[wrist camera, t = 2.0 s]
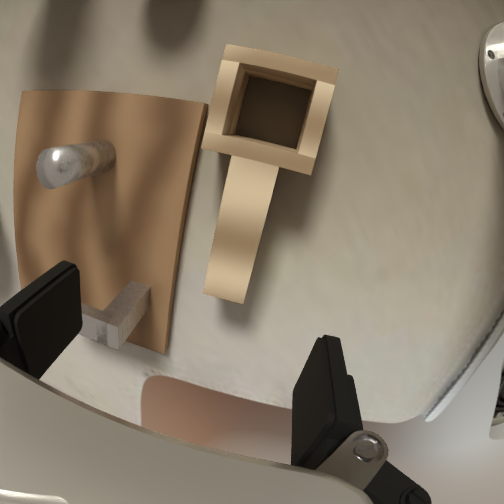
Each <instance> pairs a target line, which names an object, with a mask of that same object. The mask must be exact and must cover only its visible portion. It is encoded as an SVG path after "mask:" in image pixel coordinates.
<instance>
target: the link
mask: <svg viewBox="0 0 504 504" xmlns="http://www.w3.org/2000/svg"><path fill="white" fill-rule="evenodd" d="M338 71H339V69H336V68H332V67H329V66H325V65H322V64H318V63H315V62H311V61H307V60H303V59H300V58H295V57H291V56H287V55H283V54H278V53H274V52H269V51H264V50H259V49H253V48H247V47H242V46H235V45H229V44H226V47H225V51H224V54H223V58H222V62H221V66H220V70H219V73H218V77H217V81H216V85H215V89H214V93H213V98H212V102H211V106H210V110H209V115H208V119H207V123H206V128H205V132H204V137H203V141H202V146H201V149H206V150H211V151H215V152H220V153H224V154H229V155H232V156H231V161H230V165H229V169H228V174H227V178H226V183H225V187H224V192H223V197H222V201H221V206H220V211H219V215H218V220H217V225H216V230H215V235H214V240H213V245H212V250H211V255H210V260H209V265H208V270H207V275H206V280H205V286H204V291H203V293H204V294H207V295H211V296H214V297H218V298H222V299H225V300H229V301H233V302H236V303H240V304H243V303H244V299H245V295H246V291H247V288H248V284H249V280H250V276H251V273H252V269H253V265H254V261H255V257H256V254H257V250H258V246H259V242H260V238H261V235H262V231H263V227H264V223H265V219H266V216H267V212H268V208H269V204H270V200H271V197H272V193H273V189H274V185H275V181H276V177H277V174H278V170H279V167H282V168H286V169H289V170H293V171H297V172H300V173H304V174H307V175H311V173H312V170H313V166H314V162H315V159H316V155H317V152H318V148H319V144H320V141H321V137H322V133H323V129H324V126H325V122H326V118H327V114H328V110H329V107H330V103H331V99H332V95H333V91H334V87H335V83H336V79H337V75H338ZM249 76H252V77H257V78H262V79H267V80H271V81H276V82H280V83H284V84H288V85H292V86H296V87H300V88H304V89H308V90H311V94H310V98H309V102H308V106H307V110H306V113H305V117H304V121H303V125H302V129H301V133H300V136H299V140H298V144H297V148H296V149H294V148H290V147H286V146H282V145H278V144H275V143H271V142H267V141H262V140H258V139H254V138H250V137H245V136H241V135H237V134H235V132H236V128H237V123H238V119H239V115H240V111H241V107H242V103H243V99H244V95H245V91H246V87H247V83H248V79H249Z"/></svg>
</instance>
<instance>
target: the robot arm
mask: <svg viewBox="0 0 504 504" xmlns="http://www.w3.org/2000/svg"><path fill="white" fill-rule="evenodd" d="M479 68H480V75H481V81H482V84H483V88H484V92H485V95H486V98H487V100H488V103H489V106H490V108H491V110H492V112H493V114H494V116H495V118H496V119H497V121H498V122H499V124H500V125H501V127H502V128H503V130H504V23H500V24H498V25H495V26H493V27H492V28H490V29H489V30H488V31H487V33H486V34H485V35H484V37H483V40H482V43H481V46H480V53H479ZM82 325H83V320H82V307H81V290H80V271H79V269H77V266H76V264H74V263H71V262H68V261H65V260H63V261H61V262H59V263H58V264H56V265H55V266H54V267H52V268H51V269H49V270H48V271H47V272H45V273H44V274H42V275H41V276H40V277H38V278H37V279H36V280H34V281H33V282H32V283H30V284H29V285H28V286H26V287H25V288H24V289H22V290H21V291H20V292H18V293H17V294H16V295H14V296H13V297H12V298H11V299H9V300H8V301H7V302H6V303H4V304H3V305H2V306H1V307H0V504H431V499H430V496H429V494H428V493H427V492H426V491H425V490H424V489H423V488H422V487H421V486H419V485H418V484H416V483H415V482H414V481H413V480H411V479H410V478H409V477H407V476H406V475H405V474H403V473H402V472H401V471H399V470H398V469H397V468H396V467H394V466H393V465H392V464H390V463H389V462H388V461H387V460H386V459H387V457H388V447H387V444H386V443H385V441H384V440H383V439H382V438H381V437H380V436H379V435H377V434H376V433H374V432H371V431H367V430H363V425H362V420H361V414H360V409H359V404H358V399H357V394H356V389H355V384H354V379H353V377H352V376H351V375H347V371H346V366H345V361H344V356H343V351H342V346H341V341H340V338H338V337H334V336H329V335H324V336H323V337H322V338H319V337H318V338H317V340H316V342H315V344H314V346H313V349H312V351H311V353H310V355H309V357H308V360H307V362H306V364H305V366H304V368H303V370H302V372H301V374H300V377H299V379H298V381H297V383H296V385H295V387H294V390H293V400H292V449H291V465H288V464H282V463H278V462H272V461H266V460H261V459H256V458H251V457H247V456H242V455H238V454H233V453H229V452H225V451H221V450H216V449H213V448H209V447H205V446H201V445H197V444H194V443H190V442H187V441H183V440H180V439H177V438H173V437H171V436H167V435H164V434H161V433H158V432H155V431H152V430H150V429H146V428H144V427H141V426H138V425H136V424H133V423H130V422H128V421H125V420H123V419H120V418H118V417H115V416H113V415H110V414H108V413H106V412H103V411H101V410H99V409H96V408H94V407H92V406H90V405H87V404H85V403H83V402H81V401H79V400H77V399H75V398H73V397H71V396H69V395H66V394H64V393H62V392H61V391H59V390H57V389H55V388H53V387H51V386H49V385H47V384H45V383H43V382H42V381H40V380H39V379H40V378H41V377H42V375H43V374H44V373H45V372H46V370H47V369H48V368H49V367H50V366H51V364H52V363H53V362H54V361H55V360H56V359H57V357H58V356H59V355H60V354H61V353H62V352H63V350H64V349H65V348H66V347H67V346H68V345H69V344H70V342H71V341H72V340H73V339H74V338H75V337H76V336H77V334H78V333H79V332H80V331H81V329H82Z"/></svg>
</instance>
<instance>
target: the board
mask: <svg viewBox="0 0 504 504" xmlns="http://www.w3.org/2000/svg"><path fill="white" fill-rule="evenodd" d="M207 107H208V104H205V103H199V102H193V101H186V100H180V99H172V98H165V97H157V96H148V95H139V94H128V93H116V92H100V91H76V90H33V91H22V95H21V101H20V108H19V115H18V124H17V133H16V144H15V159H14V226H15V241H16V252H17V262H18V270H19V278H20V285H21V290H22V289H24V287H25V286H26V285H27V284H29V283H30V282H31V281H34V280H36V279H37V278H38V277H40V276H41V275H42V274H44V273H45V272H47V271H48V270H49V269H51V268H52V267H54V266H55V265H56V264H58V263H59V262H61V261H63V260H65V261H68V262H71V263H74V264H76V266H77V269H79V271H80V290H81V302H82V303H84V304H87V305H89V306H92V307H95V308H97V309H100V310H102V311H103V310H104V309H105V308H106V307H107V306H108V305H109V304H110V302H111V301H112V300H113V299H114V298H115V297H116V296H117V295H118V294H119V293H120V292H121V291H122V290H123V289H124V287H125V286H126V285H127V284H128V283H129V282H130V281H134V282H137V283H141V284H144V285H147V286H150V298H149V308H148V310H147V311H146V312H145V314H144V315H143V317H142V318H141V319H140V321H139V322H138V323H137V325H136V326H135V328H134V329H133V330H132V332H131V333H130V335H129V336H128V338H127V339H126V340H125V341H128V342H130V343H133V344H136V345H139V346H142V347H144V348H147V349H150V350H153V351H156V352H159V353H162V354H165V352H166V350H167V348H168V342H169V332H170V323H171V314H172V306H173V298H174V290H175V282H176V275H177V268H178V261H179V254H180V247H181V241H182V235H183V229H184V222H185V217H186V211H187V205H188V199H189V194H190V188H191V183H192V178H193V173H194V168H195V163H196V158H197V153H198V148H199V143H200V139H201V134H202V129H203V125H204V120H205V116H206V112H207ZM97 140H107V141H109V142H111V143H112V144H113V146H114V147H115V150H116V162H115V164H114V166H113V167H112V168H111V169H110V170H109V171H107V172H104V173H100V174H97V175H94V176H91V177H88V178H85V179H82V180H78V181H75V182H73V183H70V184H67V185H64V186H61V187H58V188H55V189H47V188H45V187H44V186H42V184H41V183H40V181H39V179H38V177H37V173H36V164H37V160H38V157H39V155H40V154H41V152H42V151H43V150H45V149H47V148H53V147H58V146H64V145H70V144H77V143H83V142H90V141H97Z"/></svg>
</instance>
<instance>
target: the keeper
mask: <svg viewBox="0 0 504 504" xmlns="http://www.w3.org/2000/svg"><path fill="white" fill-rule="evenodd" d="M32 282H33V281H31V282H30V283H32ZM30 283H29V284H30ZM29 284H27V285H26V286H28V285H29ZM26 286H25V287H26ZM25 287H24V288H25ZM149 298H150V286H147V285H144V284H141V283H137V282H134V281H130V282H129V283H128V284H127V285H126V286H125V287H124V289H123V290H122V291H121V292H120V293H119V294H118V295H117V296H116V297H115V298H114V299H113V300H112V301H111V302H110V304H109V305H108V306H107V307H106V308H105V309H104V310H103V311H102V310H100V309H97V308H95V307H92V306H89V305H87V304H84V303H82V302H81V307H82V320H83V325H82V329H81V331H80V332H79V333H78V334H80V335H82V336H85V337H87V338H89V339H92V340H94V341H97V342H99V343H102V344H104V345H107V346H109V347H112V348H114V349H117V350H119V349H120V348H121V346H122V345H123V343H124V342H125V340H126V339H127V338H128V336H129V335H130V333H131V332H132V330H133V329H134V328H135V326H136V325H137V323H138V322H139V321H140V319H141V318H142V317H143V315H144V314H145V312H146V311H147V310H148V308H149Z"/></svg>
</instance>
